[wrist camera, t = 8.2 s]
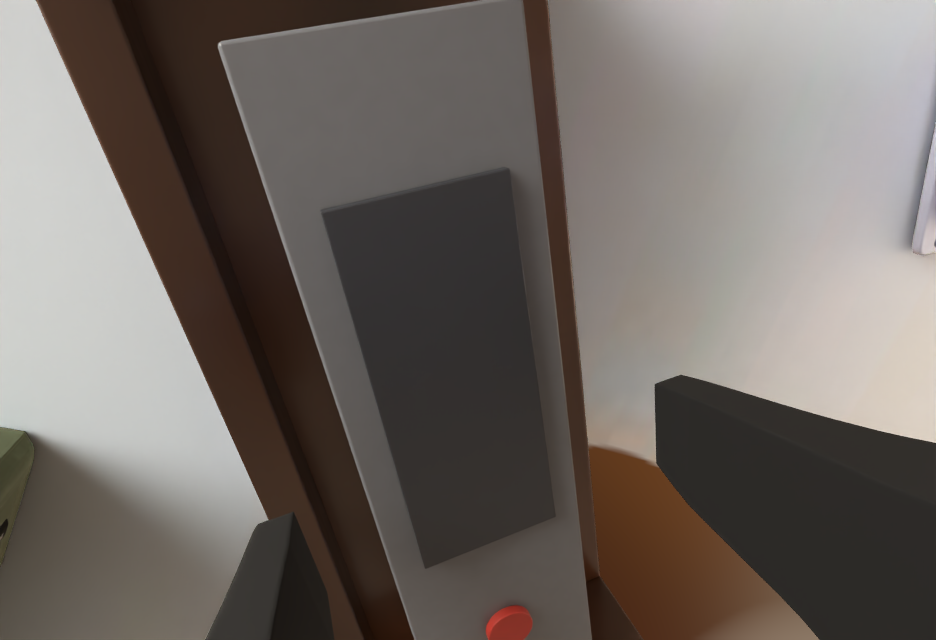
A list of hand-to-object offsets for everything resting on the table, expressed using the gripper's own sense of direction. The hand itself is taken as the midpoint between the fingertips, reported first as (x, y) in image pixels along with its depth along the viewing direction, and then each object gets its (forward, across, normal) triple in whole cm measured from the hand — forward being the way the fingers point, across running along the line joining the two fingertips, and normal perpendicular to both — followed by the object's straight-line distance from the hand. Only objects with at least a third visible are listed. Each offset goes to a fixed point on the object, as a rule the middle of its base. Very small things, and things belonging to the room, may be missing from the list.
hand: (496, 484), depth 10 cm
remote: (+4, 0, 0) cm, 4 cm away
